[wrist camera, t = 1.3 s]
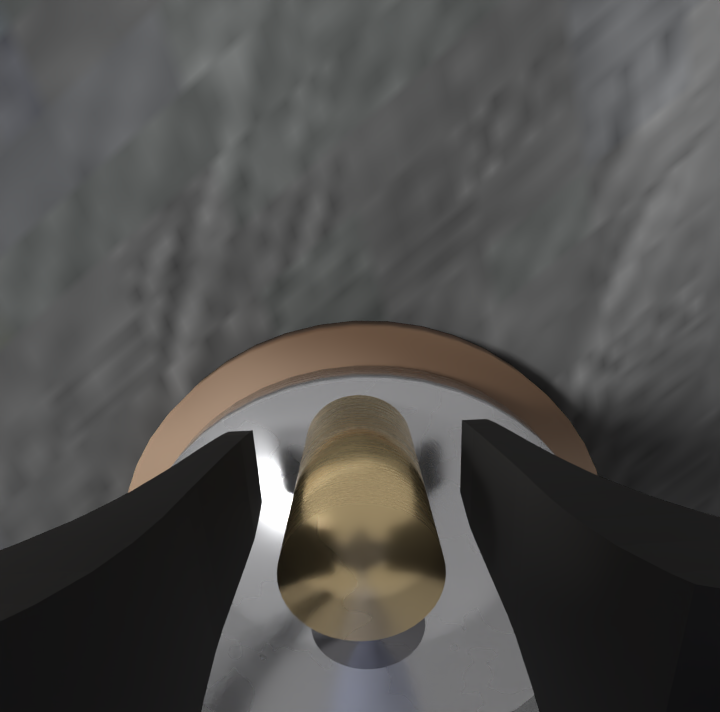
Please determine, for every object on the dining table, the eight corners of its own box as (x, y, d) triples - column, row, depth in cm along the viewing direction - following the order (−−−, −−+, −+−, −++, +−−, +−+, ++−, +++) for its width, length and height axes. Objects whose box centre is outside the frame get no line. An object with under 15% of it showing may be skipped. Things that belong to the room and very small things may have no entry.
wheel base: (567, 689, 18) (625, 818, 14) (142, 710, 18) (83, 844, 14) (616, 307, 13) (727, 342, 9) (38, 336, 13) (-95, 383, 9)
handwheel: (559, 707, 16) (664, 955, 11) (189, 725, 16) (105, 981, 11) (604, 353, 12) (814, 460, 6) (107, 377, 12) (-100, 505, 7)
